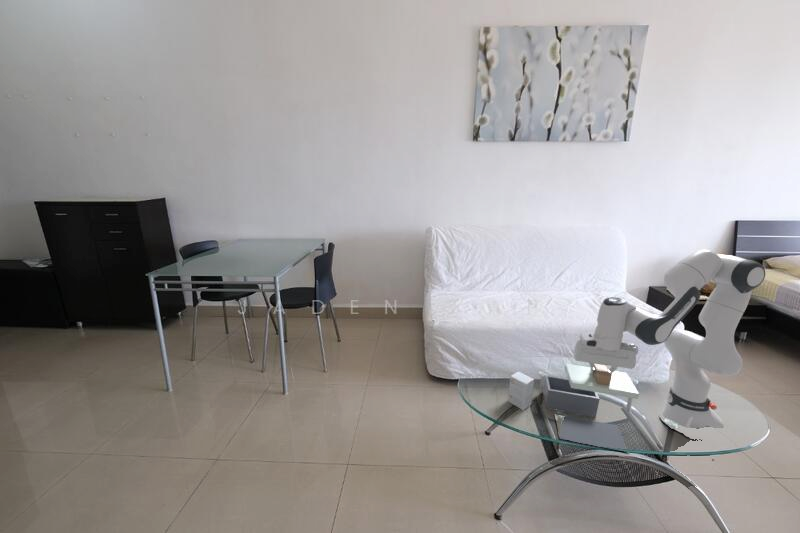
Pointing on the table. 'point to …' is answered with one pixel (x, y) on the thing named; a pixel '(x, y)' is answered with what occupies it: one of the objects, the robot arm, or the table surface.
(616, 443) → the mat
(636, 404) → the table surface
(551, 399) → the storage box
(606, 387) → the lid
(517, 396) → the small box
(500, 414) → the table surface
